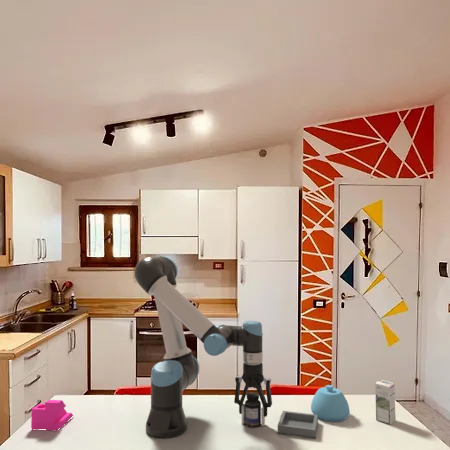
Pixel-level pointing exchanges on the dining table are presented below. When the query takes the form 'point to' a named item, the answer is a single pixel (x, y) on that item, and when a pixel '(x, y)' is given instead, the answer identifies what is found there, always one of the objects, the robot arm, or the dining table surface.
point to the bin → (298, 424)
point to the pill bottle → (252, 410)
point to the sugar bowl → (330, 404)
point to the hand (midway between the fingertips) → (253, 423)
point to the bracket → (49, 415)
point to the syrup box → (385, 401)
